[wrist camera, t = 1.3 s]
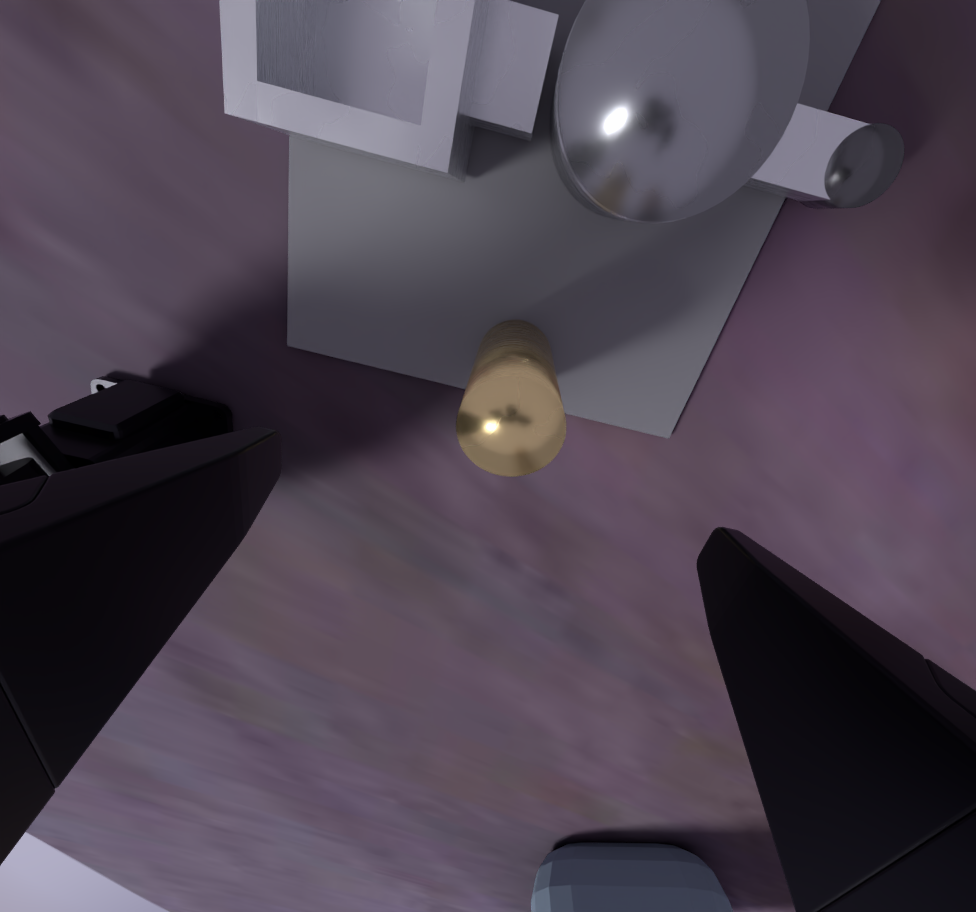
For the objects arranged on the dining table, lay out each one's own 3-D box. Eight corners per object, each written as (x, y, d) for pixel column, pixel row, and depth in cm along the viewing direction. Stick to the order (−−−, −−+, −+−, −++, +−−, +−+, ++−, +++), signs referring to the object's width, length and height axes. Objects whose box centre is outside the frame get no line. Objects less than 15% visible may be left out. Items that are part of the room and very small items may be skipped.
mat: (667, 435, 21) (668, 438, 21) (290, 343, 20) (287, 345, 20) (959, -174, 12) (969, -183, 12) (299, -392, 11) (295, -406, 11)
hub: (680, 239, 17) (734, 247, 13) (527, 198, 17) (529, 193, 13) (762, 33, 14) (868, -47, 10) (579, -21, 14) (606, -127, 10)
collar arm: (920, 66, 14) (1067, 12, 10) (807, 273, 17) (889, 291, 13) (299, -118, 13) (207, -255, 9) (295, 136, 16) (225, 113, 12)
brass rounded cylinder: (539, 398, 20) (547, 486, 14) (471, 381, 20) (446, 463, 14) (560, 329, 19) (581, 392, 12) (487, 311, 19) (468, 364, 12)
